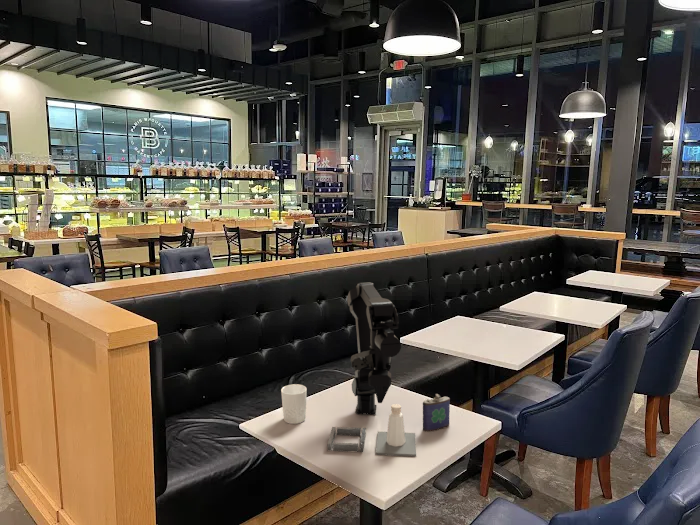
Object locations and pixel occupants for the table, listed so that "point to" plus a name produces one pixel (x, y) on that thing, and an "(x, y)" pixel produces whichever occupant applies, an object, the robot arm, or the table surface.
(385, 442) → the mat
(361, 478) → the table surface
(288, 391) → the white cup
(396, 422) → the pepper shaker
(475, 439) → the table surface
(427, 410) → the flask
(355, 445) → the holder
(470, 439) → the table surface
